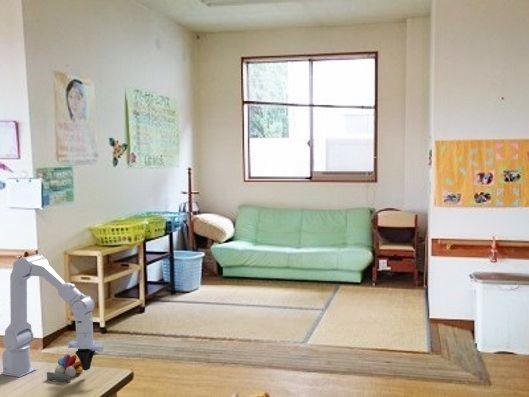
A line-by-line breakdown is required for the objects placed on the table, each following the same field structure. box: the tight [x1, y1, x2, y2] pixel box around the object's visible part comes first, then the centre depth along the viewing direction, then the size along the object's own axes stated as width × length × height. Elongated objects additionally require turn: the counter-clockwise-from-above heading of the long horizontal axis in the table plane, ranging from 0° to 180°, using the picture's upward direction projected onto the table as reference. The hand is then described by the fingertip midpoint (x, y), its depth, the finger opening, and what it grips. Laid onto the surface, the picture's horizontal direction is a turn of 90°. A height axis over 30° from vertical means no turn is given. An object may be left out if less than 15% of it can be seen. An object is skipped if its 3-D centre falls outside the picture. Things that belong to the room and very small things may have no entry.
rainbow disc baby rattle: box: [54, 353, 84, 379], centre depth 206 cm, size 8×10×7 cm
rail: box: [46, 371, 71, 384], centre depth 200 cm, size 10×1×2 cm, turn 66°
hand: (86, 369), depth 202 cm, fingers closed
